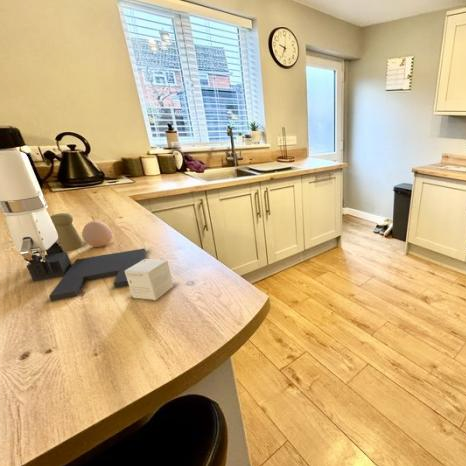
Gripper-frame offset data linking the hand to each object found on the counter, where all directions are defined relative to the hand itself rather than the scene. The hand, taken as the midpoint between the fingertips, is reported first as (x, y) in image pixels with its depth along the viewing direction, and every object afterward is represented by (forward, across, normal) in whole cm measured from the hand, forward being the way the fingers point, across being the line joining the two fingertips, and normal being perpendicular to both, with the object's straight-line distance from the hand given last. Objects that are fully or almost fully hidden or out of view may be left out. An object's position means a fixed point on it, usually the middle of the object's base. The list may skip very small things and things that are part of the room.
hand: (52, 267), depth 75 cm
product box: (+2, +22, +24) cm, 32 cm away
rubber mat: (+2, +6, +12) cm, 13 cm away
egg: (+2, -16, +7) cm, 18 cm away
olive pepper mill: (+2, -19, -1) cm, 19 cm away
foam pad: (+2, 0, 0) cm, 2 cm away
